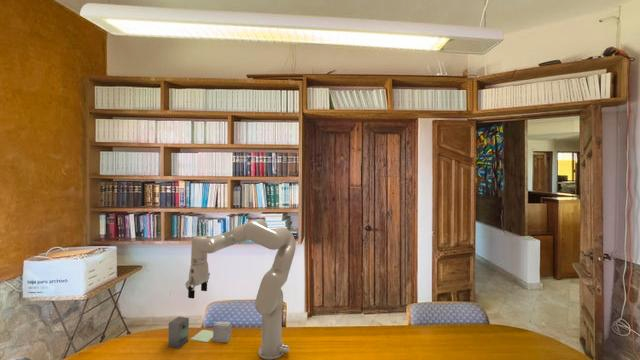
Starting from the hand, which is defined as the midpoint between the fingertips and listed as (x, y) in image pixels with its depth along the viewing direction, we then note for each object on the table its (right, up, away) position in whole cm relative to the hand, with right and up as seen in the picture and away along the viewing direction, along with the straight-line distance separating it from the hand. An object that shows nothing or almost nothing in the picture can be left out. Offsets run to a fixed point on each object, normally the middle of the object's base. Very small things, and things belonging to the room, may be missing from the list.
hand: (197, 294), depth 146 cm
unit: (-9, -25, -1) cm, 26 cm away
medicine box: (+11, -25, +3) cm, 28 cm away
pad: (+1, -25, +7) cm, 26 cm away
